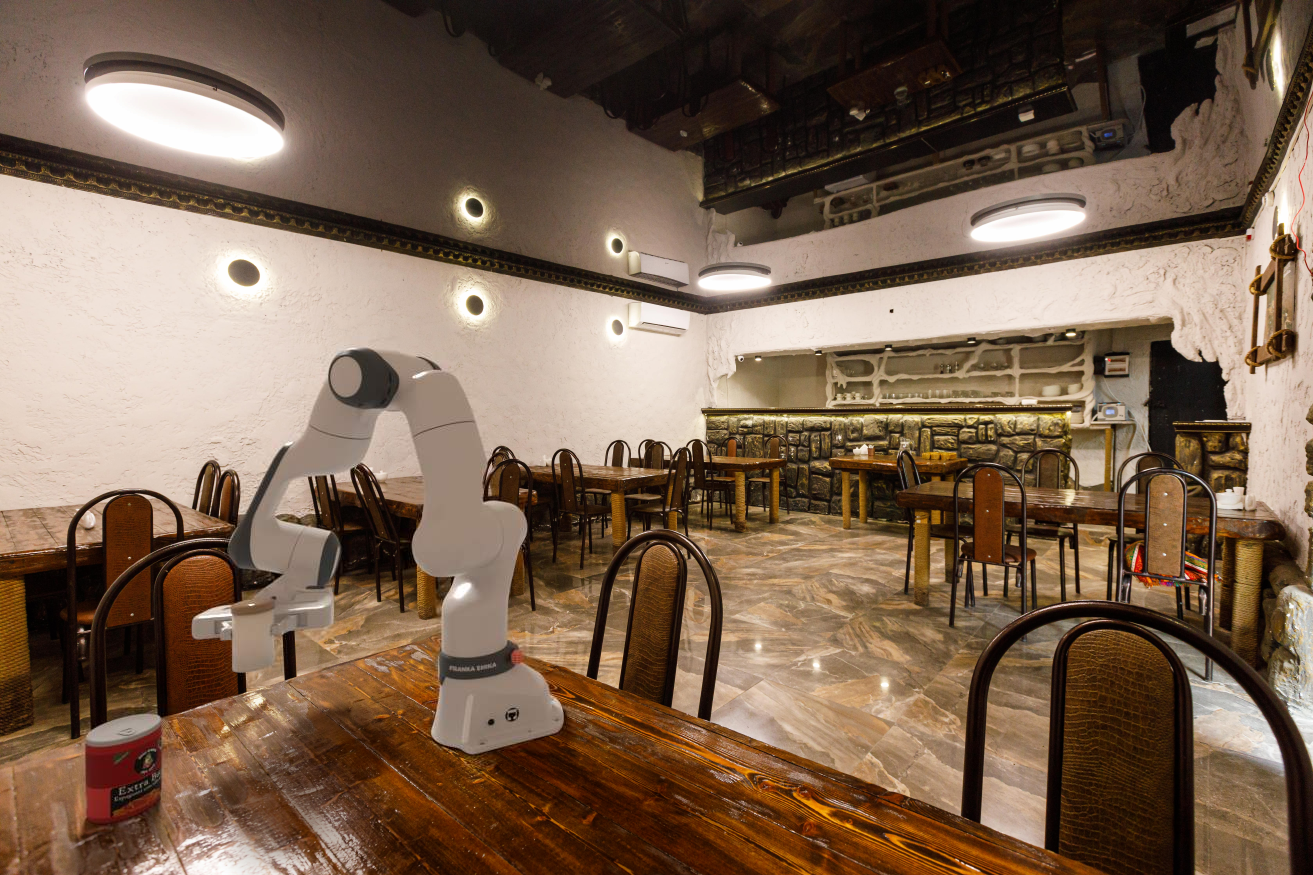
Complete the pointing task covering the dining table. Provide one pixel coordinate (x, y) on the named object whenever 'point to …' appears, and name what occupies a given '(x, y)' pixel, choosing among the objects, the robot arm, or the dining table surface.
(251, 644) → the spice jar
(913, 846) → the dining table surface
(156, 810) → the dining table surface
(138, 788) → the canned food
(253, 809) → the dining table surface
